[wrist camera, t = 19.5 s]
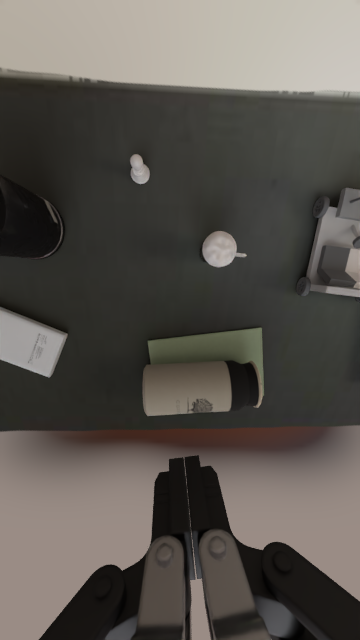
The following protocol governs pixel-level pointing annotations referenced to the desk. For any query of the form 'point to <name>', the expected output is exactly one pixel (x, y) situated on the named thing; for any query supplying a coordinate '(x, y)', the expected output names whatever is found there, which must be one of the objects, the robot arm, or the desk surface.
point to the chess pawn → (139, 169)
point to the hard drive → (29, 343)
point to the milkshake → (219, 249)
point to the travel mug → (200, 387)
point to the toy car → (335, 248)
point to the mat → (210, 348)
